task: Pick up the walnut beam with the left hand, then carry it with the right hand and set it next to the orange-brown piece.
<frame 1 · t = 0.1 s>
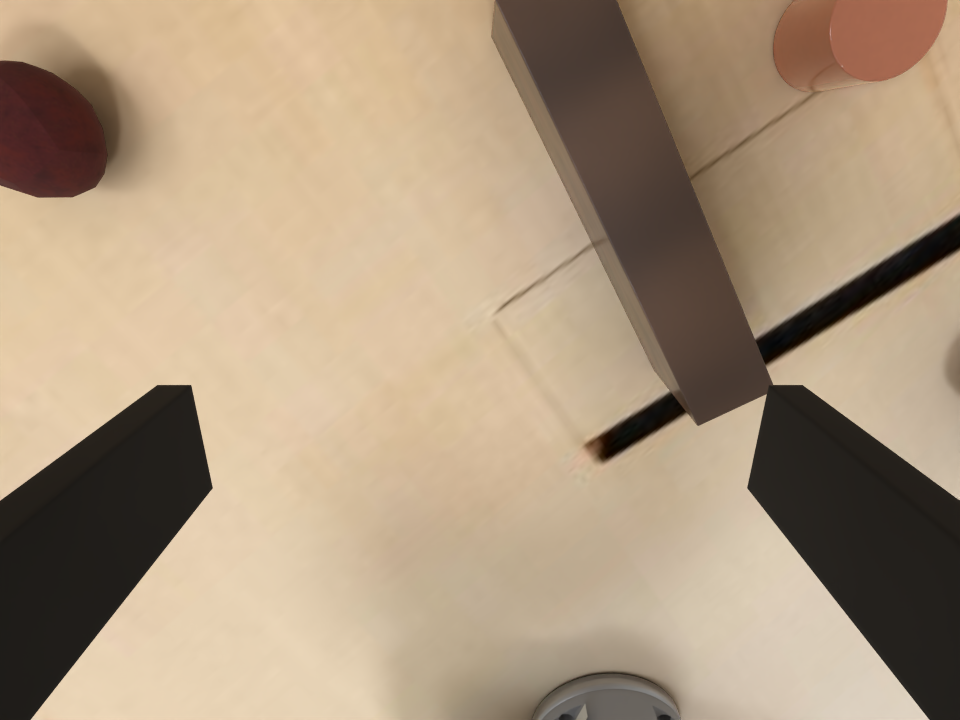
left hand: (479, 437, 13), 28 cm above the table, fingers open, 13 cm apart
orange-brown piece: (821, 39, 34), on the table
walnut beam: (614, 203, 38), on the table
dark red round piece: (76, 136, 36), on the table
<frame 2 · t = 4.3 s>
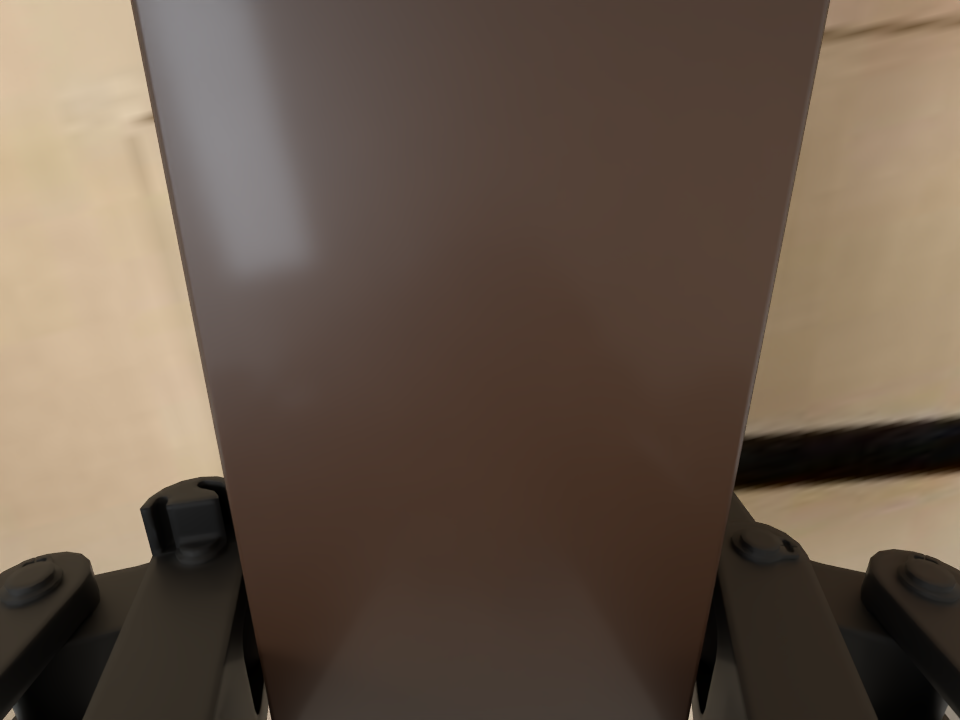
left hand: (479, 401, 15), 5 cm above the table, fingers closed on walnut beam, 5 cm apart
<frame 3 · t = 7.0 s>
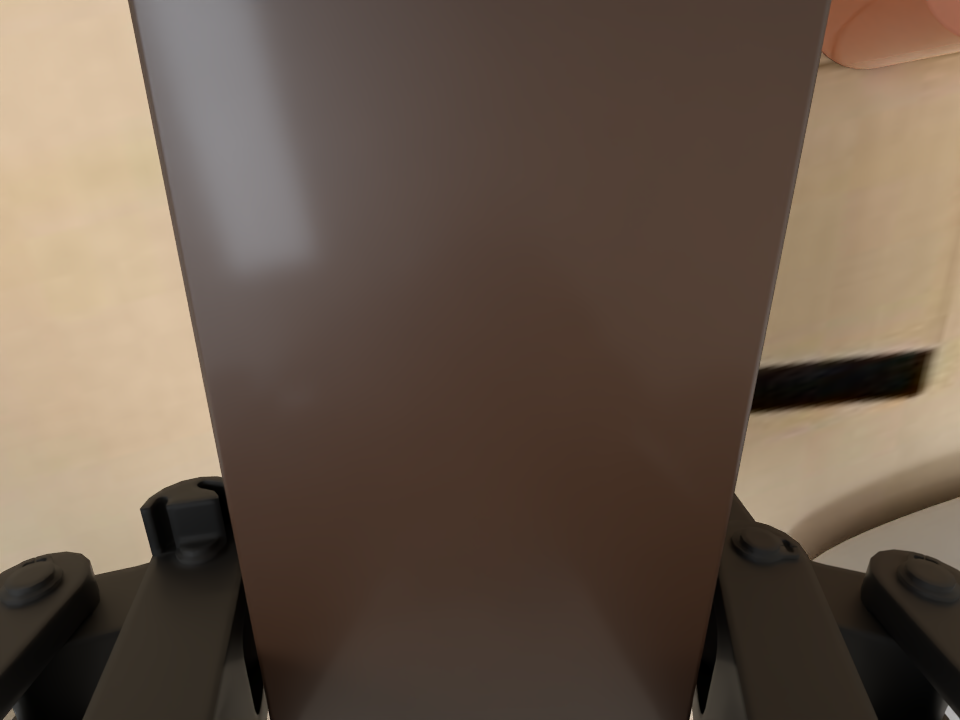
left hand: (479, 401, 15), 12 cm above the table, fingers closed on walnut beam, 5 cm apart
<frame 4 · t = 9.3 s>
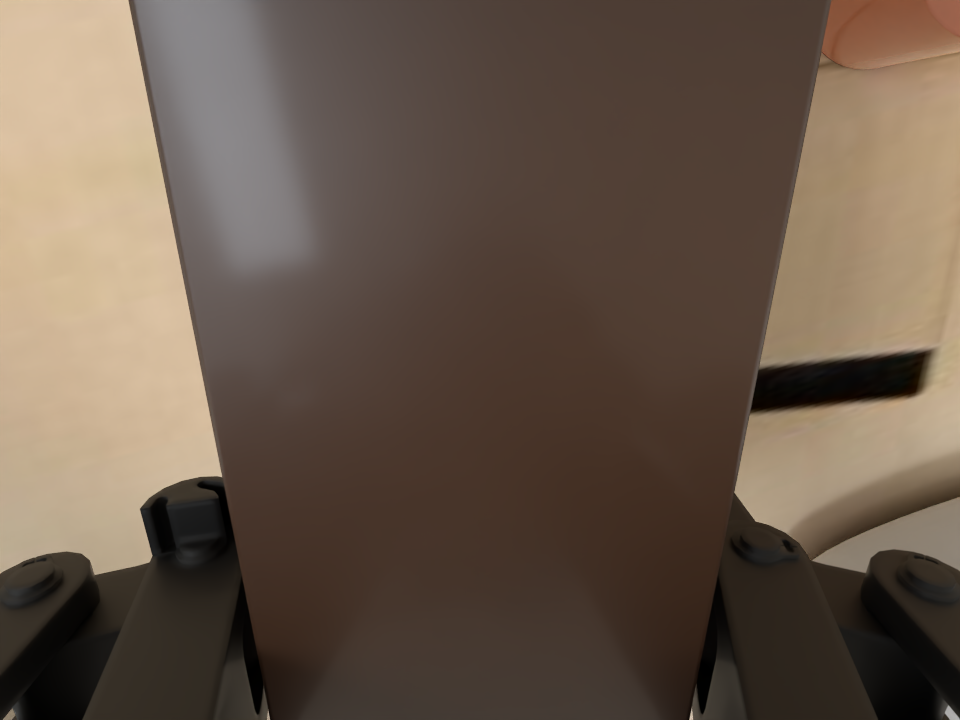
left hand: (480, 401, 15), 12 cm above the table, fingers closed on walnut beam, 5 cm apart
when the left hand's fingers open (12 cm above the table, at t = 10.2 s): walnut beam stays where it is, held by the right hand.
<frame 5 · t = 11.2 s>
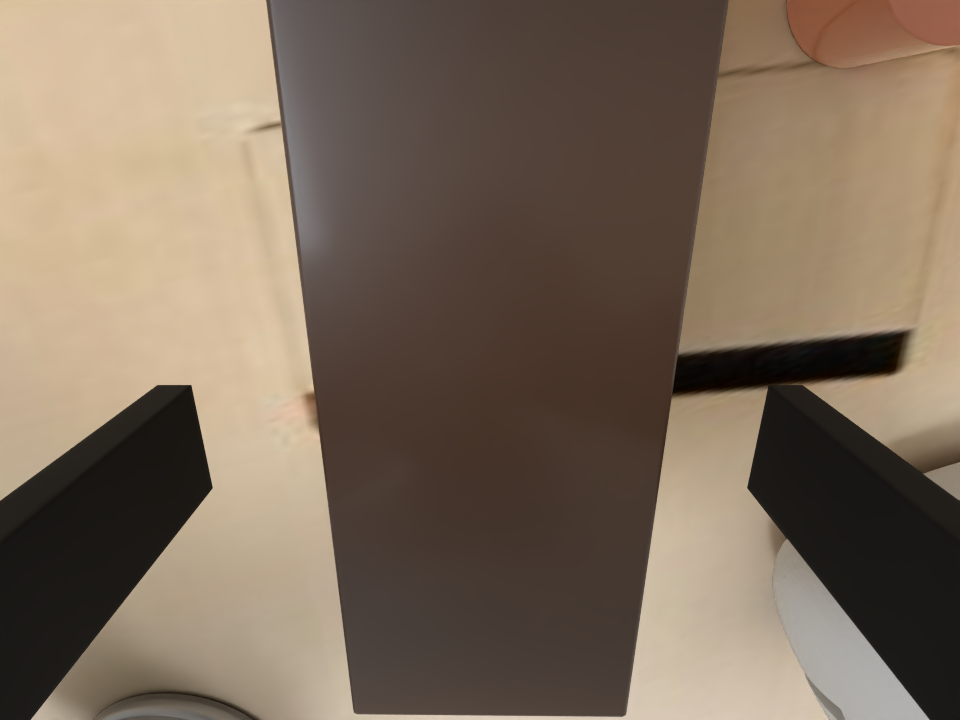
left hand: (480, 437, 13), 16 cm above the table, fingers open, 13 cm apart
walnut beam: (490, 0, 14), point 11 cm above the table, touching right hand
projector: (950, 535, 33), on the table
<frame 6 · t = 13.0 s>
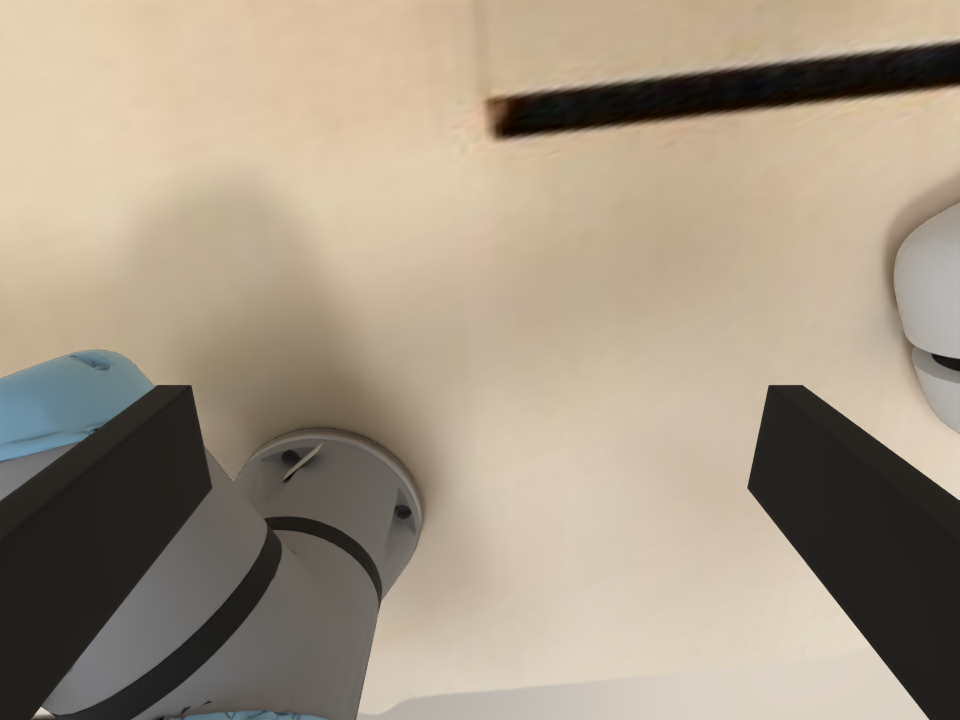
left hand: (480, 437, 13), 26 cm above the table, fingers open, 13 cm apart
when the right hand's fingers open (1 cm above the table, at t = 17.0 s): walnut beam stays where it is, on the table.
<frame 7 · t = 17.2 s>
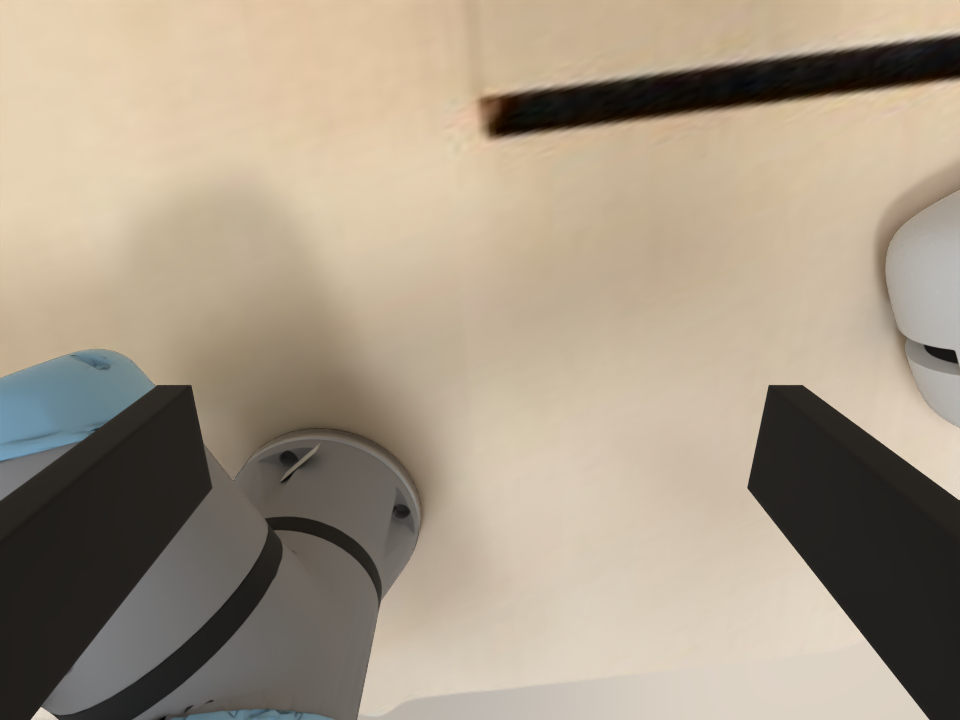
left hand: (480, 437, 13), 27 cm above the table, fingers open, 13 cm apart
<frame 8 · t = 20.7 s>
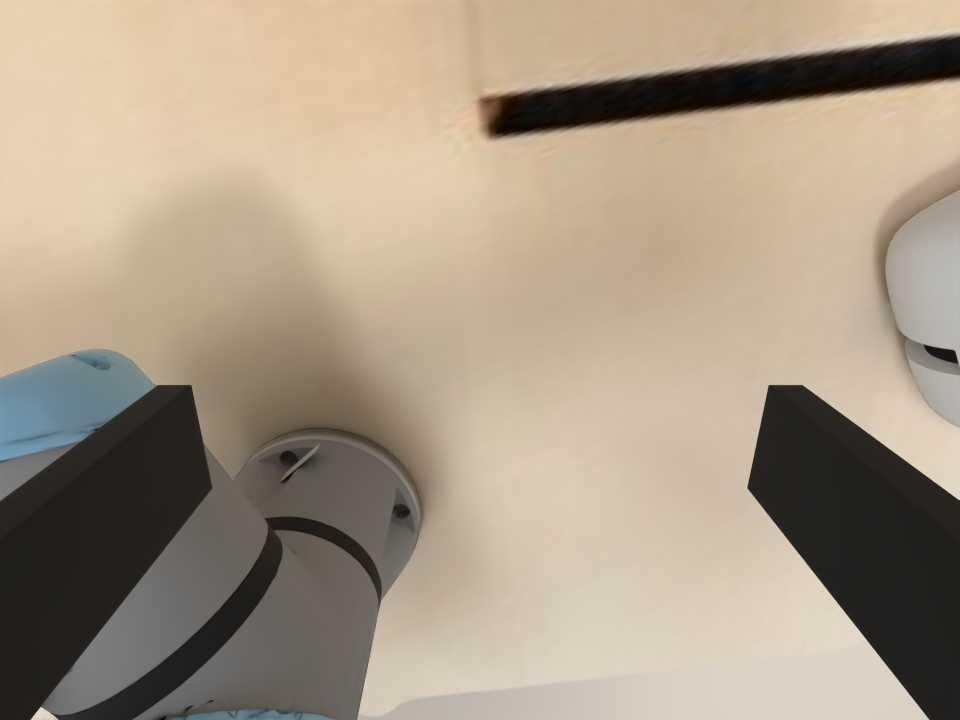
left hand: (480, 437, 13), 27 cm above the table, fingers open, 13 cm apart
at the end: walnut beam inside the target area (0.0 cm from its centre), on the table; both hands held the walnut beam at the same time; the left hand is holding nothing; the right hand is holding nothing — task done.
